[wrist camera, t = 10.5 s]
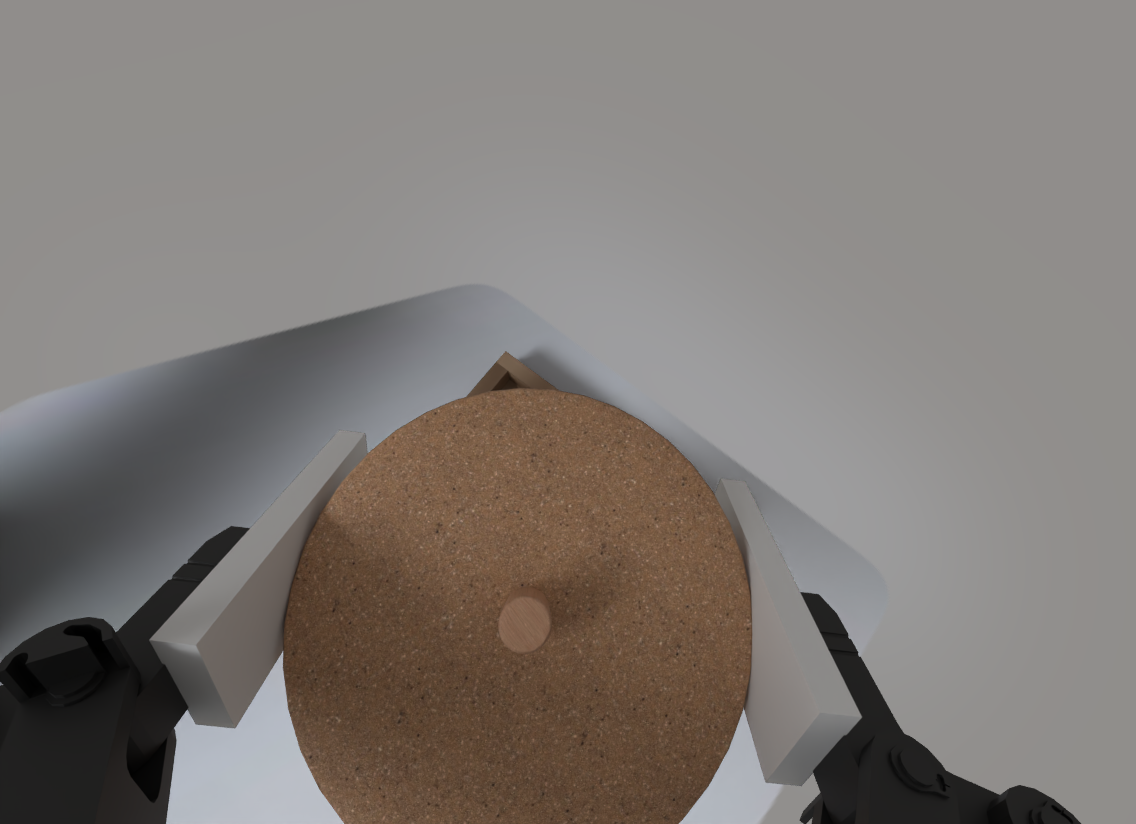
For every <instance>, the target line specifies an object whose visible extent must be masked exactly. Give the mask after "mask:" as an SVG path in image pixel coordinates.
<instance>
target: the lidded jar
mask: <svg viewBox="0 0 1136 824" xmlns="http://www.w3.org/2000/svg"><path fill="white" fill-rule="evenodd" d="M751 651H752V614H751V595H750V588H749V584H748V579H747V575H746V570H745V566H744V561H743V557H742V554H741V551H740V549H739V546H738V543H737V541H736V538H735V535H734V533H733V530H732V527H731V525H730V522H729V520H728V519H727V517H726V515H725V513H724V511H723V509H722V508H721V506H720V504H719V502H718V500H717V498H716V497H715V495H714V493H713V491H712V490H711V489H710V487H709V486H708V485H707V483H706V482H705V481H704V479H703V478H702V477H701V475H700V474H699V473H698V471H697V470H696V469H695V467H694V466H693V465H692V464H691V463H690V462H689V461H688V460H687V459H686V458H685V457H684V456H683V455H682V454H681V453H680V452H679V451H678V450H677V449H676V448H675V447H674V446H673V445H672V444H671V443H670V442H669V441H668V440H667V439H665V438H664V437H663V436H661V435H660V434H659V433H657V432H656V431H655V430H653V429H652V428H651V427H649V426H648V425H647V424H645V423H644V422H643V421H641V420H639V419H637V418H635V417H633V416H631V415H629V414H628V413H626V412H624V411H622V410H620V409H618V408H616V407H615V406H612V405H609V404H606V403H603V402H601V401H598V400H595V399H592V398H589V397H587V396H583V395H578V394H573V393H568V392H563V391H558V390H552V389H530V388H517V389H508V390H498V391H489V392H485V393H481V394H477V395H473V396H469V397H465V398H461V399H457V400H455V401H452V402H450V403H448V404H445V405H443V406H440V407H438V408H436V409H433V410H431V411H429V412H426V413H424V414H423V415H421V416H419V417H418V418H416V419H414V420H413V421H411V422H409V423H408V424H406V425H404V426H403V427H401V428H399V429H398V430H396V431H395V432H393V433H392V434H391V435H390V436H389V437H387V438H386V439H385V440H384V441H382V442H381V443H380V444H379V445H378V446H376V447H375V448H374V449H373V450H371V451H370V452H369V453H368V454H367V455H366V456H365V457H364V458H363V459H362V460H361V461H360V463H359V464H358V465H357V466H356V467H355V468H354V469H353V470H352V471H351V472H350V473H349V474H348V476H347V477H346V478H345V479H344V480H343V481H342V483H341V484H340V485H339V487H338V488H337V490H336V491H335V493H334V494H333V496H332V497H331V499H330V500H329V501H328V503H327V504H326V506H325V507H324V509H323V510H322V512H321V514H320V516H319V518H318V520H317V522H316V524H315V526H314V528H313V530H312V532H311V534H310V536H309V538H308V540H307V542H306V544H305V546H304V548H303V551H302V554H301V557H300V560H299V563H298V566H297V569H296V572H295V576H294V579H293V582H292V586H291V590H290V595H289V601H288V606H287V612H286V618H285V623H284V649H283V671H284V679H285V687H286V695H287V702H288V710H289V713H290V717H291V720H292V723H293V727H294V730H295V734H296V737H297V740H298V744H299V747H300V750H301V753H302V755H303V757H304V759H305V761H306V763H307V765H308V767H309V769H310V771H311V773H312V775H313V777H314V779H315V781H316V783H317V785H318V787H319V789H320V791H321V792H322V794H323V795H324V796H325V798H326V799H327V800H328V802H329V803H330V804H331V806H332V807H333V809H334V810H335V811H336V813H337V814H338V815H339V817H340V818H341V820H342V821H343V822H344V824H678V823H679V822H681V821H682V820H683V818H684V817H685V816H686V815H687V813H688V812H689V811H690V809H691V808H692V807H693V805H694V804H695V803H696V802H697V800H698V799H699V798H700V796H701V795H702V794H703V792H704V791H705V790H706V789H707V787H708V786H709V784H710V782H711V781H712V779H713V777H714V775H715V773H716V771H717V770H718V768H719V766H720V764H721V762H722V760H723V759H724V757H725V755H726V753H727V751H728V750H729V747H730V744H731V742H732V739H733V736H734V733H735V731H736V728H737V725H738V722H739V720H740V717H741V714H742V711H743V707H744V703H745V698H746V693H747V688H748V683H749V678H750V672H751Z"/></svg>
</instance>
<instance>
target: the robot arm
mask: <svg viewBox="0 0 1136 824" xmlns="http://www.w3.org/2000/svg"><path fill="white" fill-rule="evenodd" d="M367 454H368V453H367V444H366V435H365V433H359V432H351V431H343V430H339V431H338V432H337V433H336V434H335V435H334V436H333V437H332V439H331V440H330V441H329V442H328V443H327V444H326V445H325V446H324V447H323V449H322V450H321V451H320V452H319V453H318V454H317V455H316V456H315V457H314V458H313V460H312V461H311V462H310V463H309V464H308V465H307V466H306V467H305V468H304V470H303V471H302V472H301V473H300V474H299V475H298V476H297V477H296V478H295V479H294V481H293V482H292V483H291V484H290V485H289V486H288V487H287V488H286V489H285V491H284V492H283V493H282V494H281V495H280V496H279V497H278V498H277V499H276V500H275V502H274V503H273V504H272V505H271V506H270V507H269V508H268V509H267V510H266V512H265V513H264V514H263V515H262V516H261V517H260V518H259V519H258V520H257V521H256V523H255V524H254V525H253V526H252V527H251V528H243V527H234V526H231V527H229V528H227V529H226V530H224V531H223V532H221V533H219V534H218V535H216V536H214V537H213V538H211V539H209V540H208V541H206V542H205V543H204V544H203V545H202V546H201V547H200V548H199V549H198V550H197V551H196V552H195V553H194V554H193V556H192V557H191V558H190V559H189V560H188V563H187V564H184V565H183V566H182V567H181V568H180V569H179V570H178V571H177V572H176V573H175V574H174V575H173V577H172V579H171V580H168V581H167V582H166V583H165V584H164V585H163V586H162V587H161V588H160V589H159V590H158V591H157V592H156V593H155V594H154V595H153V596H152V597H151V598H150V599H149V600H148V601H147V602H146V603H145V604H144V605H143V606H142V607H141V608H140V609H139V610H138V611H137V612H136V613H135V614H134V615H133V616H132V617H131V618H130V619H129V620H128V621H127V622H126V623H125V624H124V625H123V626H122V627H121V628H120V629H119V630H118V631H117V632H115V631H114V629H113V628H112V626H111V625H110V624H108V623H107V622H106V621H105V620H104V619H98V618H90V617H86V618H80V619H74V620H68V621H66V622H63V623H60V624H58V625H55V626H52V627H49V628H47V629H45V630H43V631H41V632H39V633H38V634H36V635H34V636H32V637H31V638H29V639H27V640H26V641H24V642H22V643H21V644H20V645H19V646H18V647H17V648H15V649H14V650H13V651H12V652H11V653H9V654H8V655H7V656H6V657H5V658H4V659H3V661H2V662H1V663H0V682H1V683H2V684H3V685H1V686H0V824H166V818H167V811H168V803H169V795H170V787H171V779H172V772H173V764H174V756H175V748H176V735H175V729H174V727H175V726H176V724H177V723H178V721H179V720H180V719H181V717H182V716H183V715H184V713H185V712H186V710H187V709H188V711H189V713H190V715H191V716H192V718H193V720H194V722H195V724H197V725H207V726H217V727H227V728H236V726H237V725H238V723H239V721H240V720H241V718H242V717H243V715H244V713H245V712H246V710H247V708H248V707H249V705H250V704H251V702H252V700H253V699H254V697H255V695H256V694H257V692H258V690H259V689H260V687H261V686H262V684H263V682H264V681H265V679H266V677H267V676H268V674H269V673H270V671H271V669H272V668H273V666H274V664H275V663H276V661H277V660H278V658H279V656H280V655H281V653H282V651H283V649H284V623H285V618H286V612H287V606H288V601H289V595H290V590H291V586H292V582H293V579H294V576H295V572H296V569H297V566H298V563H299V560H300V557H301V554H302V551H303V548H304V546H305V544H306V542H307V540H308V538H309V536H310V534H311V532H312V530H313V528H314V526H315V524H316V522H317V520H318V518H319V516H320V514H321V512H322V510H323V509H324V507H325V506H326V504H327V503H328V501H329V500H330V499H331V497H332V496H333V494H334V493H335V491H336V490H337V488H338V487H339V485H340V484H341V483H342V481H343V480H344V479H345V478H346V477H347V476H348V474H349V473H350V472H351V471H352V470H353V469H354V468H355V467H356V466H357V465H358V464H359V463H360V461H361V460H362V459H363V458H364V457H365V456H366V455H367ZM715 497H716V498H717V500H718V502H719V504H720V506H721V508H722V509H723V511H724V513H725V515H726V517H727V519H728V520H729V522H730V525H731V527H732V530H733V533H734V535H735V538H736V541H737V543H738V546H739V549H740V551H741V554H742V557H743V561H744V566H745V570H746V575H747V579H748V584H749V588H750V595H751V614H752V651H751V672H750V678H749V683H748V688H747V693H746V698H745V703H744V710H745V713H746V717H747V720H748V724H749V727H750V730H751V734H752V737H753V741H754V744H755V748H756V751H757V755H758V758H759V762H760V765H761V769H762V772H763V775H764V779H765V782H766V783H776V784H786V785H795V786H802V785H803V784H804V783H805V781H806V780H807V779H808V778H809V777H810V776H811V775H812V773H814V776H815V779H816V781H817V784H818V786H819V789H820V792H821V793H820V794H819V795H818V796H817V797H816V798H815V799H814V800H813V801H812V802H811V803H810V804H809V805H808V807H807V808H806V809H805V810H804V811H803V813H802V816H801V818H800V821H801V822H802V823H804V824H806V823H807V822H808V821H809V820H810V819H811V818H812V817H813V818H812V824H1081V823H1080V822H1079V821H1078V820H1077V819H1076V818H1075V817H1074V815H1073V814H1071V813H1070V812H1069V811H1067V810H1066V809H1065V808H1064V807H1062V806H1061V805H1060V804H1059V803H1057V802H1056V801H1055V800H1054V799H1052V798H1050V797H1049V796H1047V795H1045V794H1043V793H1042V792H1039V791H1038V790H1036V789H1034V788H1029V787H1025V786H1021V785H1018V786H1015V787H1012V788H1009V789H1008V790H1006V791H1005V792H1004V793H1002V794H1001V795H999V794H996V793H994V792H992V791H989V790H987V789H985V788H983V787H980V786H978V785H976V784H973V783H972V782H969V781H967V780H964V779H962V778H960V777H958V776H956V775H953V774H951V773H950V772H948V771H946V770H945V769H944V767H943V765H942V764H941V763H940V762H939V761H938V760H937V759H936V758H935V756H934V755H933V754H932V753H931V752H930V751H929V750H928V749H927V748H926V747H924V746H923V745H922V744H920V743H919V742H918V741H916V740H915V739H914V738H912V737H910V736H908V735H906V734H904V733H903V731H902V730H901V728H900V727H899V725H898V723H897V722H896V720H895V718H894V717H893V714H892V713H891V711H890V709H889V707H888V705H887V704H886V702H885V700H884V698H883V696H882V695H881V693H880V691H879V689H878V687H877V685H876V684H875V682H874V680H873V678H872V677H871V675H870V673H869V671H868V669H867V667H866V666H865V664H864V662H863V660H862V658H861V657H859V656H858V651H857V649H856V647H855V646H854V644H853V642H852V640H851V639H849V638H848V633H847V631H846V629H845V628H844V626H843V624H842V622H841V620H840V619H839V617H838V615H837V613H836V612H835V611H834V610H833V609H832V608H831V607H830V606H829V605H828V604H827V603H826V602H825V601H824V599H823V598H822V597H821V596H820V595H819V594H812V593H803V592H800V591H799V589H798V587H797V585H796V583H795V581H794V579H793V577H792V575H791V573H790V571H789V569H788V567H787V565H786V563H785V561H784V559H783V557H782V555H781V553H780V551H779V549H778V547H777V545H776V543H775V541H774V539H773V537H772V535H771V533H770V531H769V529H768V527H767V525H766V522H765V520H764V518H763V516H762V514H761V512H760V510H759V508H758V506H757V504H756V502H755V500H754V498H753V496H752V494H751V492H750V490H749V488H748V486H747V484H746V482H745V481H738V480H730V479H722V478H721V479H720V482H719V484H718V487H717V489H716V492H715Z"/></svg>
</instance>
